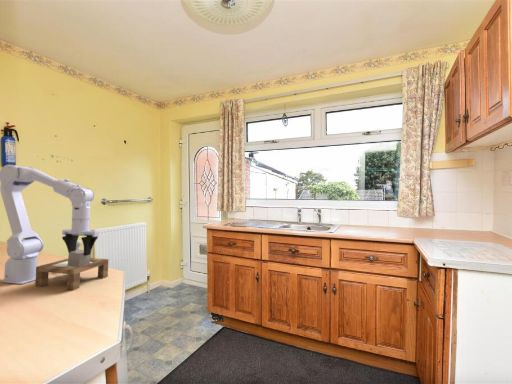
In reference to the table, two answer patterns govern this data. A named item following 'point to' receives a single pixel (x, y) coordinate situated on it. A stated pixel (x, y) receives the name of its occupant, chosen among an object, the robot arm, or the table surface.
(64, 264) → the trapdoor
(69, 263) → the pale grey cube
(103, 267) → the trapdoor frame
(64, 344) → the table surface
